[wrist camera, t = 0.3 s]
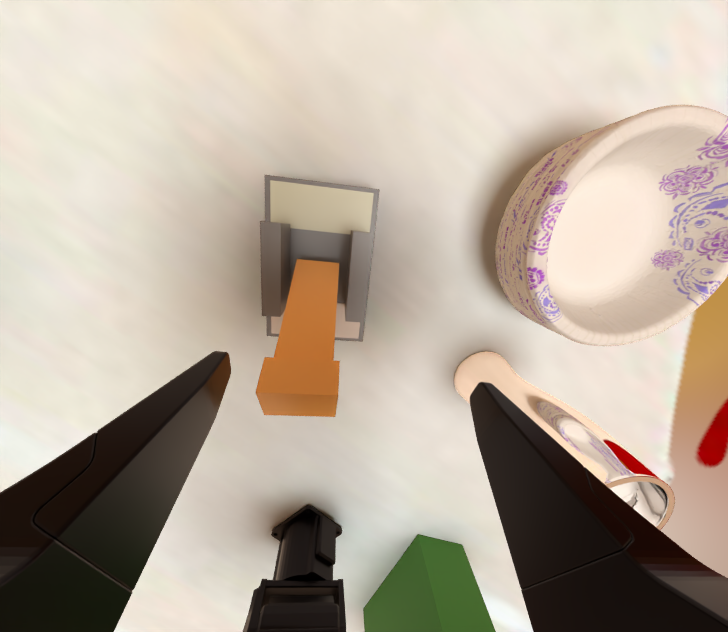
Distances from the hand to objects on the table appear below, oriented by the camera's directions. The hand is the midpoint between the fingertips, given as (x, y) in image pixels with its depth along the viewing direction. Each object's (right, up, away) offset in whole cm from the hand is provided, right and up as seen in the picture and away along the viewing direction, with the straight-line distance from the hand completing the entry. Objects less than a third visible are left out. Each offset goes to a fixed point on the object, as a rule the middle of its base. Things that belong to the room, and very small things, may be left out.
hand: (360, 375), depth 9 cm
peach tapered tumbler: (+13, -4, +19) cm, 24 cm away
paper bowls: (+18, +9, +15) cm, 25 cm away
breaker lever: (-3, +6, +10) cm, 12 cm away
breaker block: (-4, +7, +14) cm, 16 cm away
